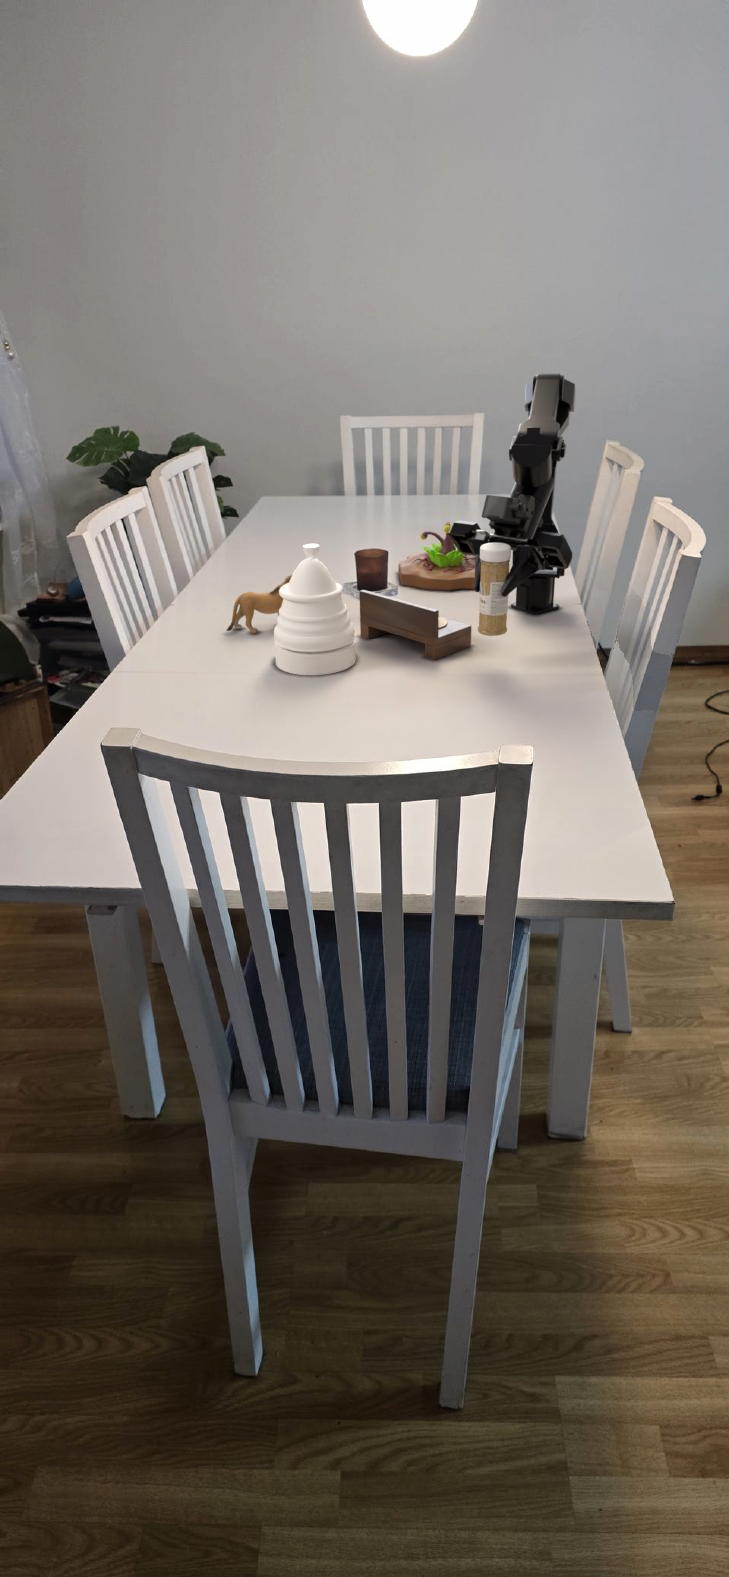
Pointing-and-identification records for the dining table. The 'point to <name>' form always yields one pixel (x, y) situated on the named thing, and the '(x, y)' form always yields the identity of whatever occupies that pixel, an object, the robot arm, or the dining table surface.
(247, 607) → the lion figurine
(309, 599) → the honey pot
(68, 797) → the dining table surface
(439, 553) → the plant
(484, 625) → the sprinkles bottle
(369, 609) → the miniature wooden bench
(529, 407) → the robot arm
